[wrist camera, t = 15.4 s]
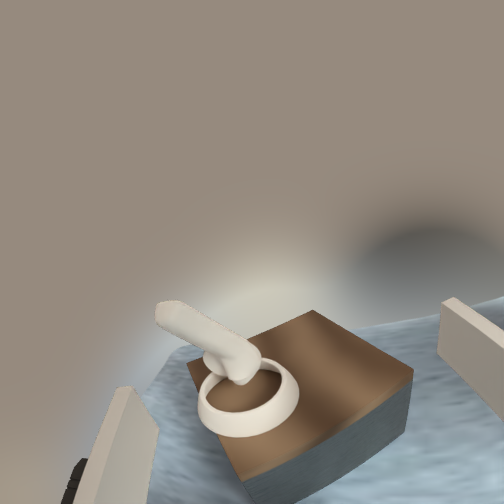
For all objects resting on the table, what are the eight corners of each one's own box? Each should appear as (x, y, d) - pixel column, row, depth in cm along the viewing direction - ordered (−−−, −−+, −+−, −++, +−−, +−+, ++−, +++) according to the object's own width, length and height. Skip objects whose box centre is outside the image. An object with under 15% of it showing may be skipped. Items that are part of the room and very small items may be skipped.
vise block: (321, 366, 33) (312, 309, 31) (404, 431, 20) (413, 369, 18) (212, 417, 28) (186, 363, 26) (264, 516, 16) (237, 474, 13)
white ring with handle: (96, 409, 14) (121, 307, 18) (224, 437, 21) (231, 363, 26) (179, 426, 10) (202, 281, 14) (306, 440, 18) (307, 353, 22)
